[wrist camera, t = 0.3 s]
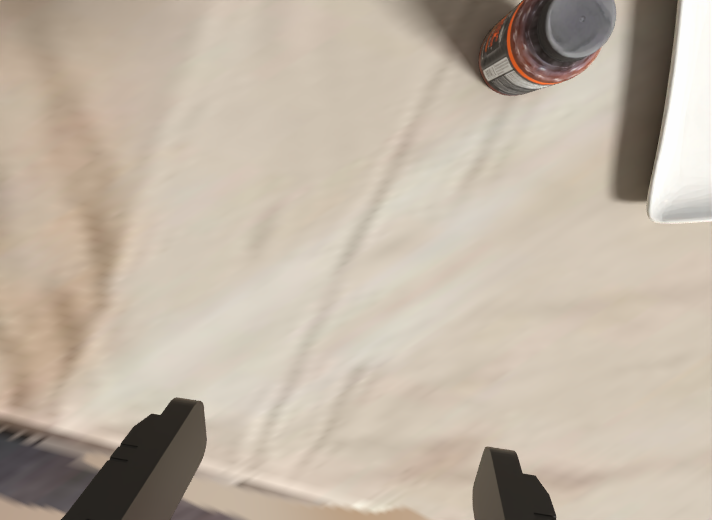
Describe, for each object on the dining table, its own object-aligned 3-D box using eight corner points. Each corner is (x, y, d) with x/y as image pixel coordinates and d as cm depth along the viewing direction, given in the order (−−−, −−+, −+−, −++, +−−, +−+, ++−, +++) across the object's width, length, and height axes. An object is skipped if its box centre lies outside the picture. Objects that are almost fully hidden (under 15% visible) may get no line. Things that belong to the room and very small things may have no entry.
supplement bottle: (505, 2, 33) (576, -68, 22) (563, 46, 34) (660, -2, 23) (461, 71, 35) (508, 36, 24) (518, 111, 35) (589, 95, 25)
